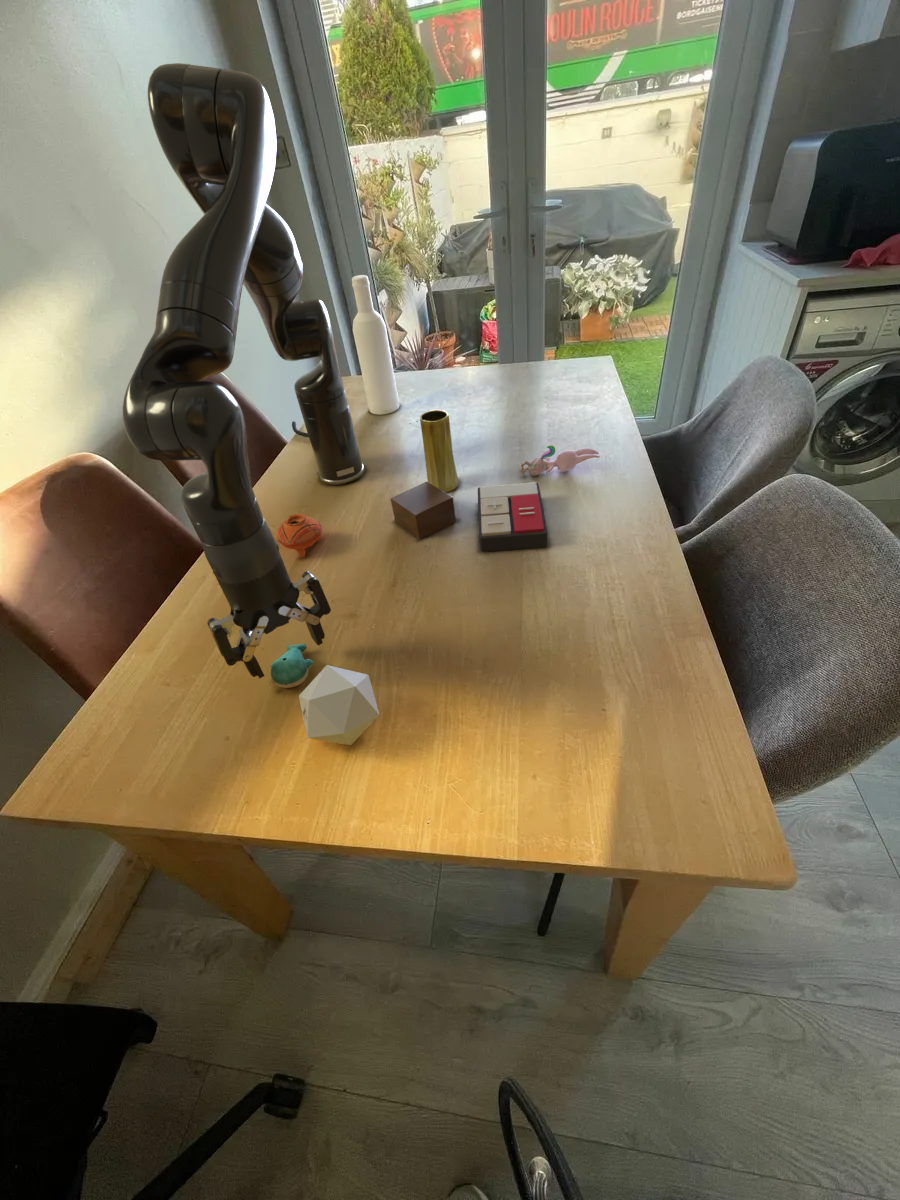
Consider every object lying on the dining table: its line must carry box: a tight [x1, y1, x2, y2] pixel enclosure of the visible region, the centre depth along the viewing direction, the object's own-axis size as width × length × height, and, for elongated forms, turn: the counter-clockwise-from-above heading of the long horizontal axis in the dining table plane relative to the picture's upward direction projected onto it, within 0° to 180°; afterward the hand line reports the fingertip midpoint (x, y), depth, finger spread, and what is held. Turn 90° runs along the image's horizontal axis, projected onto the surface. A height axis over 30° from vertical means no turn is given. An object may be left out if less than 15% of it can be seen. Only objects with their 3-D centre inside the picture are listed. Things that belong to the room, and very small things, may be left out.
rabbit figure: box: [520, 445, 601, 478], centre depth 106 cm, size 6×6×15 cm
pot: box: [275, 513, 323, 559], centre depth 96 cm, size 8×8×7 cm
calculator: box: [477, 481, 548, 553], centre depth 95 cm, size 11×4×15 cm
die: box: [298, 664, 380, 746], centre depth 65 cm, size 8×9×10 cm
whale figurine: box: [270, 643, 314, 689], centre depth 74 cm, size 6×7×4 cm
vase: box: [419, 409, 459, 493], centre depth 104 cm, size 6×6×14 cm
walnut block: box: [390, 481, 457, 540], centre depth 98 cm, size 8×8×5 cm
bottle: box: [351, 274, 400, 416], centre depth 132 cm, size 8×8×30 cm
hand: (289, 657), depth 73 cm, fingers open, 8 cm apart
